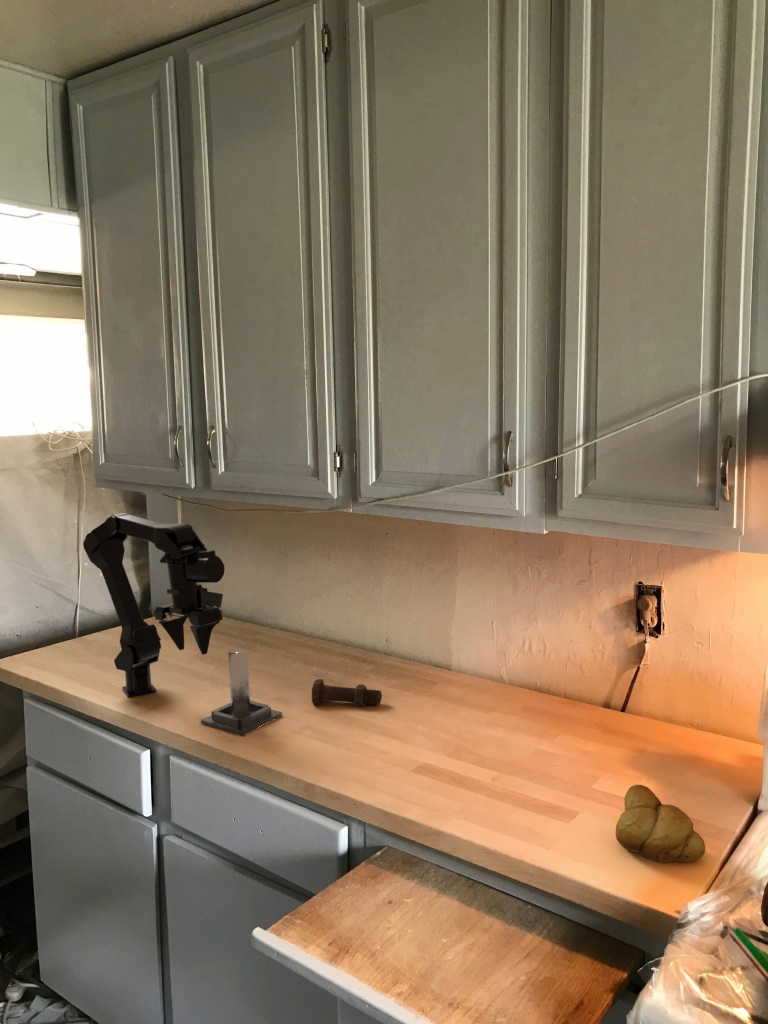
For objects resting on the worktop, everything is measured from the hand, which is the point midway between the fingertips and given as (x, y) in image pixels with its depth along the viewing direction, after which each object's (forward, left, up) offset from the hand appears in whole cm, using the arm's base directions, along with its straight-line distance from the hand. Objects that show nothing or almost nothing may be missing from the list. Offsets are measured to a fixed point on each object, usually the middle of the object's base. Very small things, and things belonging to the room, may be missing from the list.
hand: (193, 651), depth 183 cm
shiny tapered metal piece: (+13, +6, -12) cm, 18 cm away
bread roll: (+95, +40, -13) cm, 104 cm away
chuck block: (+13, +6, -12) cm, 19 cm away
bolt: (+18, +28, -13) cm, 36 cm away
